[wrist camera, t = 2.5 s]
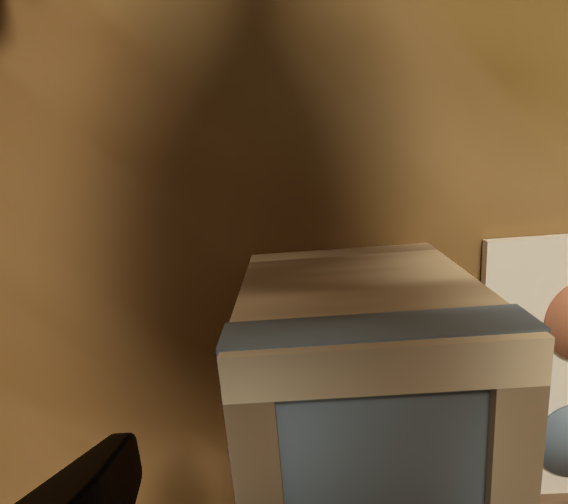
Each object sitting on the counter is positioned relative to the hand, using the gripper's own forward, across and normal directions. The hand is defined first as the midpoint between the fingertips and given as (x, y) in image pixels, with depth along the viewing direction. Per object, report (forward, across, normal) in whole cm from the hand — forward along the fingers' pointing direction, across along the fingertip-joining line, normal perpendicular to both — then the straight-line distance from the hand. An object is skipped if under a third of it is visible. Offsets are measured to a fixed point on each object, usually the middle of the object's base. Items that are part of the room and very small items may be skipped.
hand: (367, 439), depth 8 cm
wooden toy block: (+5, 0, 0) cm, 5 cm away
